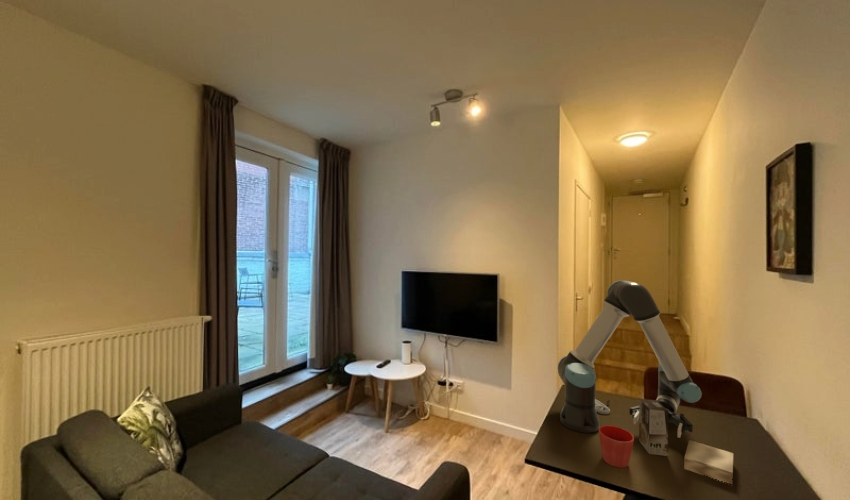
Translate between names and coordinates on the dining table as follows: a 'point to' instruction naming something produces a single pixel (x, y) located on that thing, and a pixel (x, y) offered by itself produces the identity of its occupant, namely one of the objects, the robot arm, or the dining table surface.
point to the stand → (709, 461)
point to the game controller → (602, 407)
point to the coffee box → (653, 427)
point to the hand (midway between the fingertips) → (656, 427)
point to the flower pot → (616, 445)
